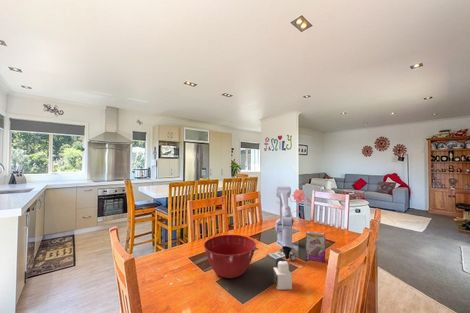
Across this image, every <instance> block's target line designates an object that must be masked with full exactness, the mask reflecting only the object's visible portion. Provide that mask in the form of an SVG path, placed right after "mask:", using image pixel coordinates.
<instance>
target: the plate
mask: <svg viewBox="0 0 470 313" xmlns="http://www.w3.org/2000/svg"><path fill="white" fill-rule="evenodd" d="M275 252H276V251H275ZM275 252H271V253H268V254H266V256H267V257H269V258H270V259H272V260H274V261H276V260H277V259H275V258H273V257H271V256H270V255H269V254H272V253H275ZM278 259H285V257H282V258H278Z"/></svg>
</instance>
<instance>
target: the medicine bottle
mask: <svg viewBox="0 0 470 313" xmlns="http://www.w3.org/2000/svg"><path fill="white" fill-rule="evenodd" d="M289 264H290V262H289V260H288V259H285V258H282V259H277V260H275V267H274V266H273V267H272V269H273V274H272V276H273V277H272V279H273V284H274V286H275V287H276V290H277V291H282V290H293V274H292V272H291V271H290V270H289V268H290V266H289Z"/></svg>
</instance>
